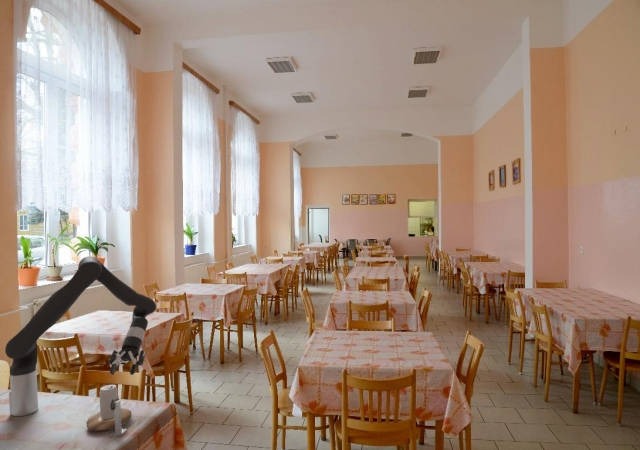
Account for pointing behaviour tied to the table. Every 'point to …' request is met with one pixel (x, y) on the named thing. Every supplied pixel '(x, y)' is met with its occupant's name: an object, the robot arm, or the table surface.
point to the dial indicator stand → (117, 418)
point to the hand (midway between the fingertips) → (121, 374)
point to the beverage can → (107, 401)
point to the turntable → (107, 421)
